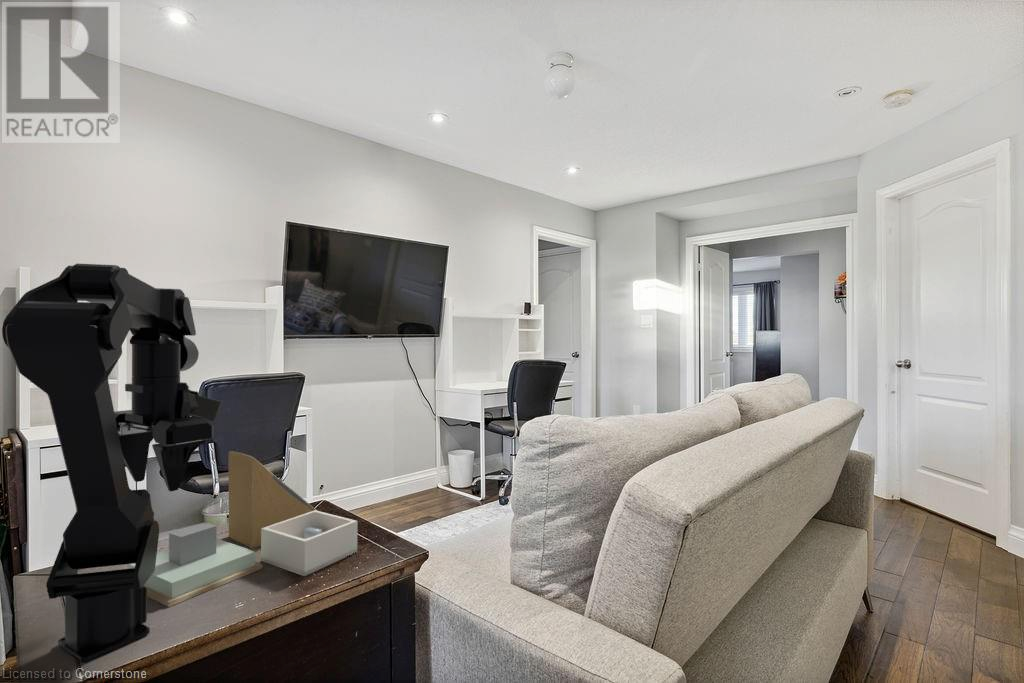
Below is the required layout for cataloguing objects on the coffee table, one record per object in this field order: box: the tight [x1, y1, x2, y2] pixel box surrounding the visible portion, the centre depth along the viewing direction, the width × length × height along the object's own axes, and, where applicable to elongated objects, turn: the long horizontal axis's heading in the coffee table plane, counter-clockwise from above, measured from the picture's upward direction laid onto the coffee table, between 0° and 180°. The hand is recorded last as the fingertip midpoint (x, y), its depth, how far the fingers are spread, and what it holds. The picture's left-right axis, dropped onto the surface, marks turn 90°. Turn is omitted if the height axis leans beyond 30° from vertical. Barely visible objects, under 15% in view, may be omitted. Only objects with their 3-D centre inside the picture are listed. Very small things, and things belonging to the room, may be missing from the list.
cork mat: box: [143, 561, 263, 608], centre depth 75 cm, size 13×13×1 cm
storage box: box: [260, 509, 358, 577], centre depth 82 cm, size 10×10×5 cm
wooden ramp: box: [228, 450, 318, 549], centre depth 93 cm, size 9×15×15 cm, turn 143°
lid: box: [126, 522, 256, 598], centre depth 75 cm, size 12×12×6 cm
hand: (155, 485), depth 74 cm, fingers open, 9 cm apart
